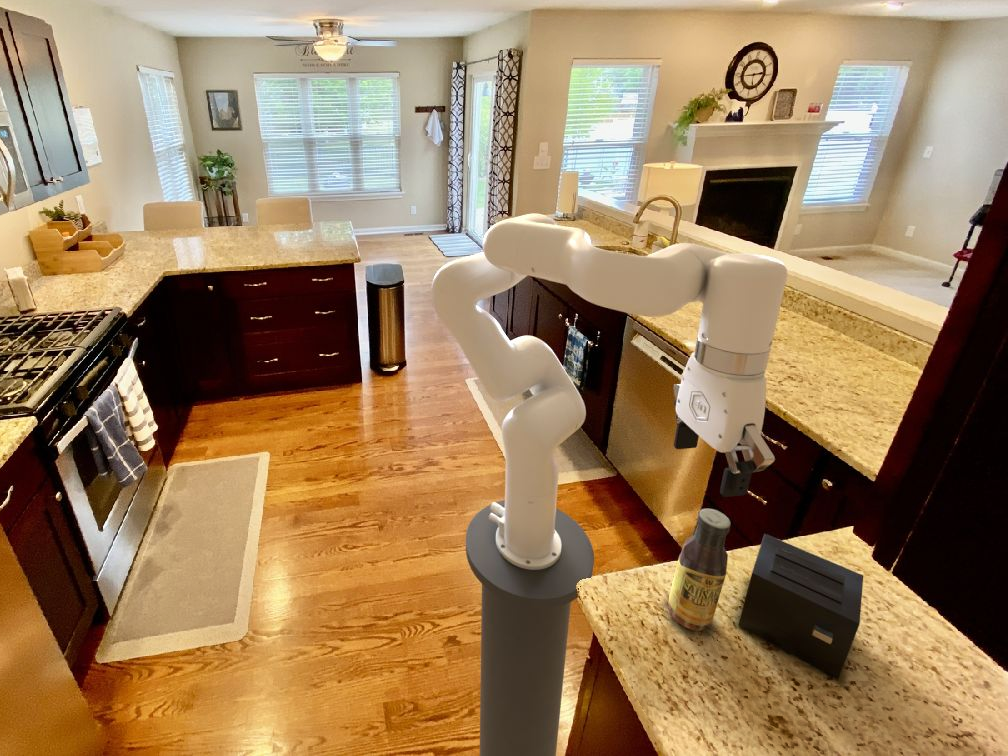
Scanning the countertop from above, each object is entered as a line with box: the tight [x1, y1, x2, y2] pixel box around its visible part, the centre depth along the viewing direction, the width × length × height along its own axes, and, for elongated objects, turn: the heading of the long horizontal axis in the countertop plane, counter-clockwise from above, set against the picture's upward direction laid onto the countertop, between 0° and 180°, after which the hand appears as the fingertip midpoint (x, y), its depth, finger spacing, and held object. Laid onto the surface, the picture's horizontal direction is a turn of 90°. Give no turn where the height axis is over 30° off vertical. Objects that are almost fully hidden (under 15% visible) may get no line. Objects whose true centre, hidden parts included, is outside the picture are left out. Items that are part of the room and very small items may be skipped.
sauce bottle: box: [668, 508, 731, 632], centre depth 74 cm, size 6×6×20 cm
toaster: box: [737, 533, 864, 681], centre depth 73 cm, size 12×11×11 cm
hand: (707, 469), depth 66 cm, fingers open, 9 cm apart
